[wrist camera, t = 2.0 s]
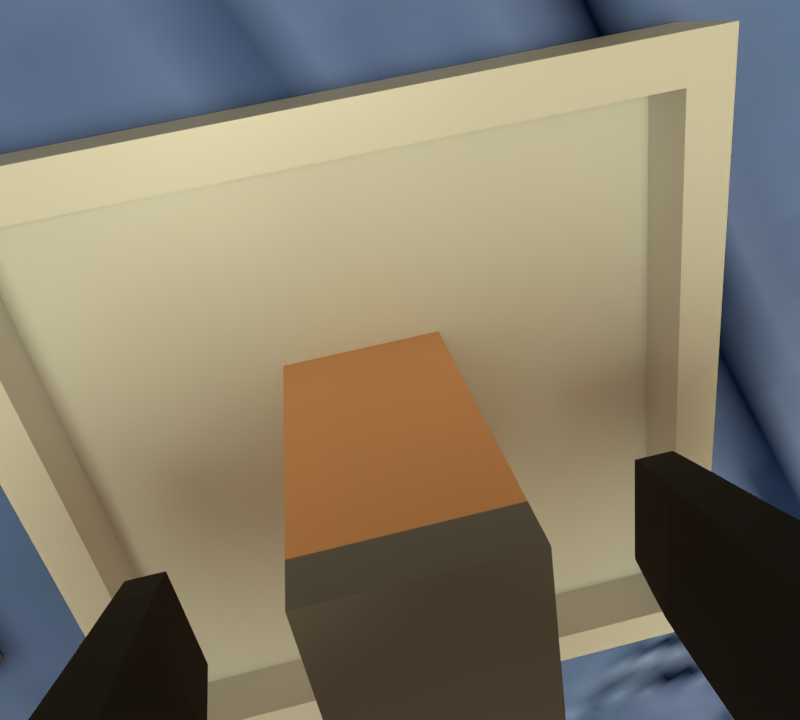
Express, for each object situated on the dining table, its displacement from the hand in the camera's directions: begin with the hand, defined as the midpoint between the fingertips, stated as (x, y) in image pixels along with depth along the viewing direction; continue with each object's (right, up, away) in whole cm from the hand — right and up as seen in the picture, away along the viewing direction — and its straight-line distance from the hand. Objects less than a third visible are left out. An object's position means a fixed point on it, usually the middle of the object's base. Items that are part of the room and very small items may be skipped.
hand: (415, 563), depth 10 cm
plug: (-1, +2, +3) cm, 4 cm away
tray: (-1, +2, +4) cm, 4 cm away
